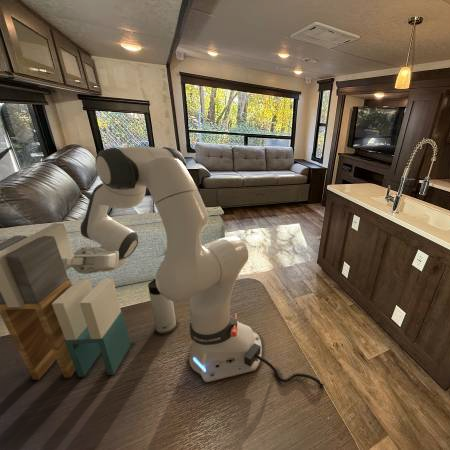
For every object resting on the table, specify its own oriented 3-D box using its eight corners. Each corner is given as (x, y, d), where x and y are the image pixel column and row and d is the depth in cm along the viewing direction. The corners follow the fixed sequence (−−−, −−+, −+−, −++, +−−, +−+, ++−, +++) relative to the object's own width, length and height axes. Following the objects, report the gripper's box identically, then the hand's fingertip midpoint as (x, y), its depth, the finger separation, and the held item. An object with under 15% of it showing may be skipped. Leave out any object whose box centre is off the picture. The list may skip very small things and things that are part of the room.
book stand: (92, 346, 78) (55, 236, 62) (70, 377, 69) (20, 256, 53) (60, 348, 76) (14, 235, 61) (32, 379, 67) (-30, 256, 52)
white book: (76, 262, 74) (63, 223, 69) (19, 307, 57) (-3, 258, 52) (67, 262, 74) (54, 223, 69) (7, 307, 57) (-16, 258, 52)
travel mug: (169, 336, 84) (161, 288, 76) (151, 331, 85) (142, 284, 77) (180, 322, 89) (174, 277, 82) (164, 318, 90) (157, 273, 83)
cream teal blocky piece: (130, 345, 79) (114, 278, 69) (113, 374, 70) (91, 302, 60) (99, 346, 78) (78, 278, 68) (78, 376, 69) (49, 303, 59)
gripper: (55, 250, 81) (14, 249, 67) (124, 250, 84) (98, 250, 70) (52, 269, 80) (10, 273, 66) (122, 269, 83) (95, 272, 70)
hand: (56, 261), depth 68 cm, fingers closed on white book, 2 cm apart
